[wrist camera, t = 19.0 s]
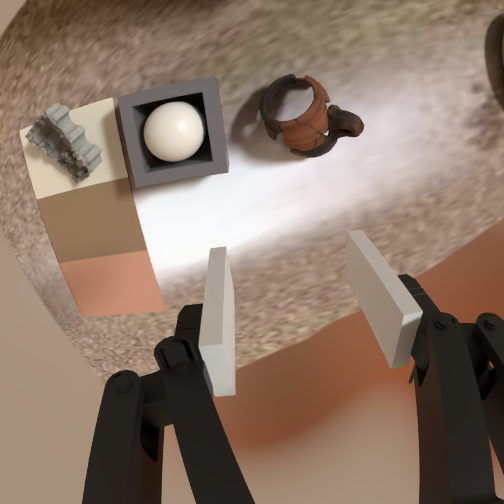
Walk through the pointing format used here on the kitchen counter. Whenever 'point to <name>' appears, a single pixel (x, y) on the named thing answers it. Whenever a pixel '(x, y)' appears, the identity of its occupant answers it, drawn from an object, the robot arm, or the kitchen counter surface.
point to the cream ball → (175, 131)
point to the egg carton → (64, 142)
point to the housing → (172, 171)
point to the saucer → (503, 49)
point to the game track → (96, 222)
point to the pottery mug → (310, 120)
